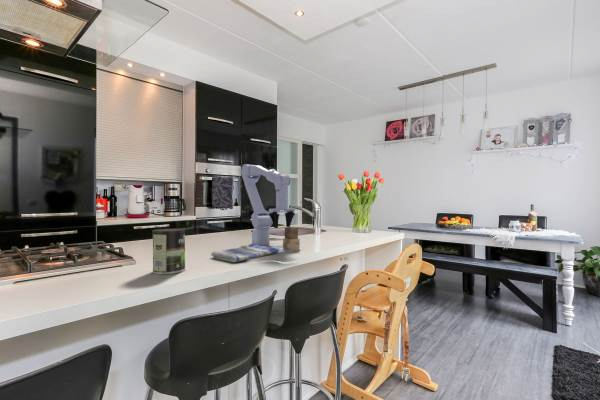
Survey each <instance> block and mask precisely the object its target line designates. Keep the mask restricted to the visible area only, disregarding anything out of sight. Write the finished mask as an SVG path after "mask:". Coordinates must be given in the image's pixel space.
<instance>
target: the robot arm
mask: <svg viewBox="0 0 600 400" xmlns="http://www.w3.org/2000/svg"><path fill="white" fill-rule="evenodd" d="M240 174H241V177H242V180H243V182H244V186H245V190H246V193H247V197H248V198H249V200H250V205H251V206H252V211H253V213H252V214H251V216H250V217H251V224H252V226H253V230H252V232H251V244H255V245H259V246H267V245H270V229H271V227H272V226H273V228H274V229H278V228H279V218H280V213H284V217H285V226H286V227H285V228H287V227H291V225H292V221H293V218H294V216H295V215H296V214H295V212H296V211H295V210H296V208H295V207H289V186H290V184H291V177H290V176H289V175H288V174H283V173H282V172H279V171H277V170H276V169H274V168H272V169H267V168H265V167H263V166H262V165H255V164H246V163H245V164H242V166H241V171H240ZM261 176H264V177H265V179H266V180H267V181H268V182H271V183H273V185H274V189H275V205H276V206H275V208H268V210H266V209H265V208H264V205H263V202H262V200H261V199H262V198H261V197H260V194H259V192H258V188H257V185H256V183H258V181H259V180H260V177H261Z"/></svg>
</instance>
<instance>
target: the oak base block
mask: <svg viewBox="0 0 600 400" xmlns="http://www.w3.org/2000/svg"><path fill="white" fill-rule="evenodd" d="M300 241H301V240H300V237H298V239H286V238H285V237H283V238H282V245H283V249H286V250H290V251H289V252H292V251H291V250H295V251H298V250H297V249H301V247H300V245H301V244H300Z"/></svg>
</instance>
